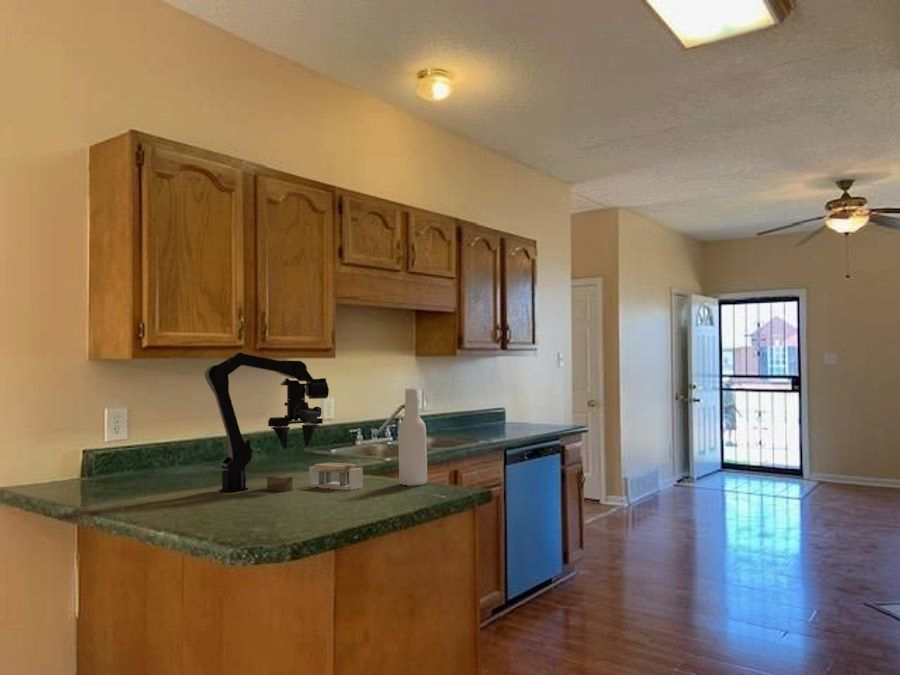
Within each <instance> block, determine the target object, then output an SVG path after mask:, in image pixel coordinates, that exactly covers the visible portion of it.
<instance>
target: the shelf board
mask: <svg viewBox="0 0 900 675" xmlns="http://www.w3.org/2000/svg"><path fill="white" fill-rule="evenodd" d="M314 466H315V471H322V472H324V473H326V472H332V473H337V474H338V473H339V474H340V473H346V474H347V472H349V470H351V469H356V468H357V464H356V463H344V462H343V463H342V462H341V463H340V462H321V463H316V464H314Z"/></svg>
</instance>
